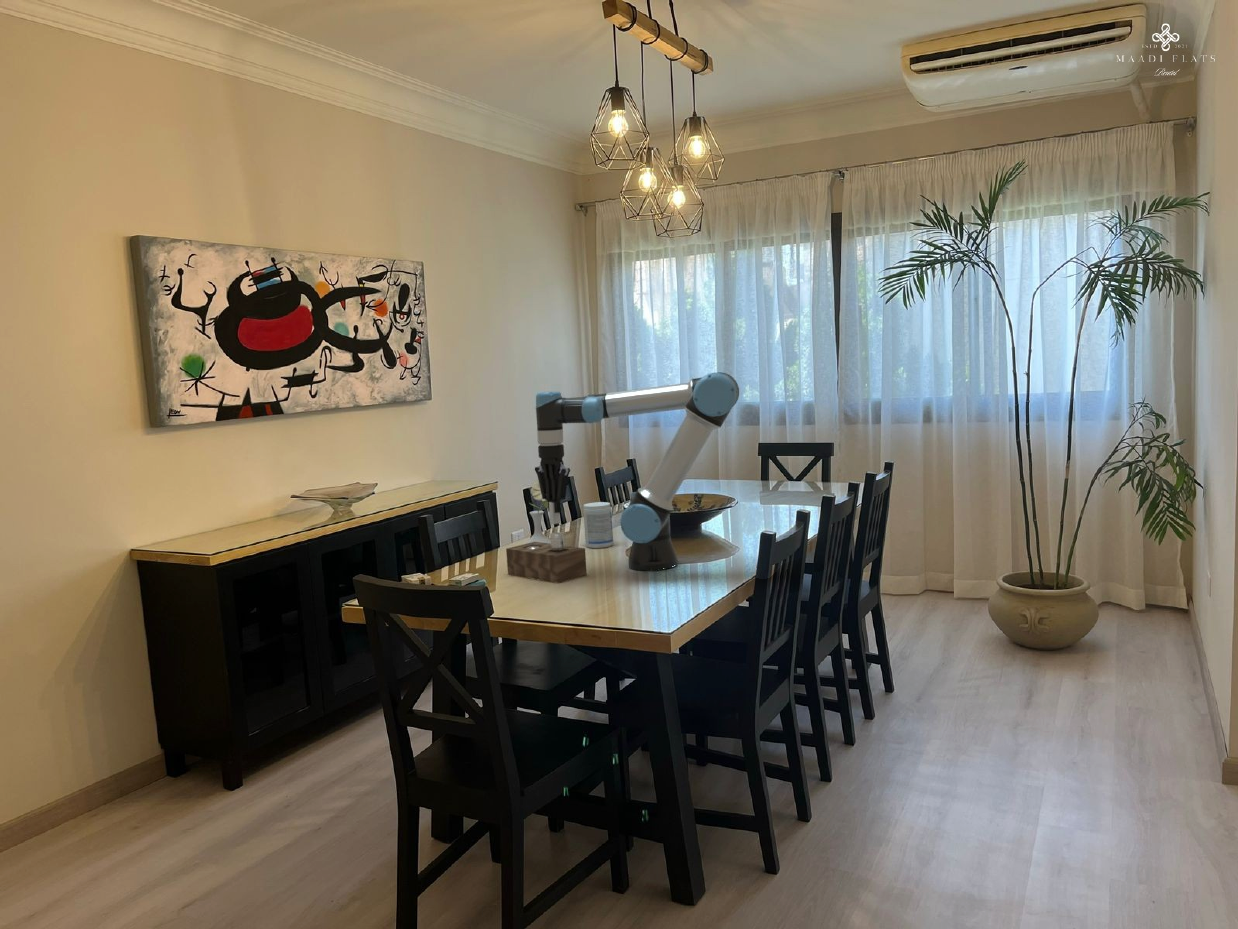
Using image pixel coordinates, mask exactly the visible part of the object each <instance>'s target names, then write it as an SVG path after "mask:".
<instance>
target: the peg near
mask: <svg viewBox="0 0 1238 929" xmlns="http://www.w3.org/2000/svg"><path fill="white" fill-rule="evenodd" d="M564 535H565V533H564V532H561V531H560V532H552V533H549V537H550V538H549V539H550V541H551V552H556V553H559V552H562V551H565V548H564V546H565V537H564Z"/></svg>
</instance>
